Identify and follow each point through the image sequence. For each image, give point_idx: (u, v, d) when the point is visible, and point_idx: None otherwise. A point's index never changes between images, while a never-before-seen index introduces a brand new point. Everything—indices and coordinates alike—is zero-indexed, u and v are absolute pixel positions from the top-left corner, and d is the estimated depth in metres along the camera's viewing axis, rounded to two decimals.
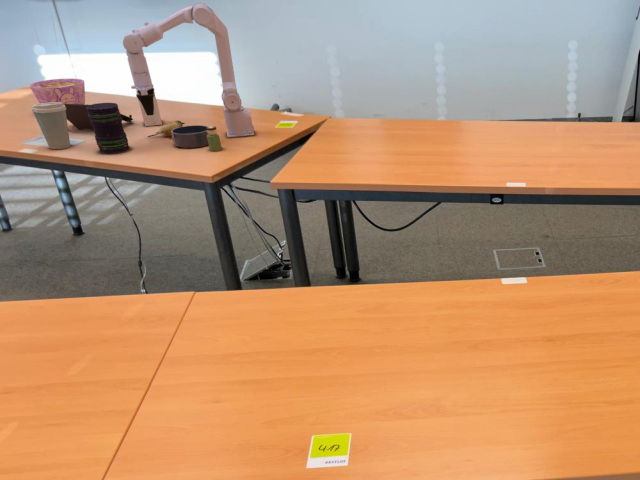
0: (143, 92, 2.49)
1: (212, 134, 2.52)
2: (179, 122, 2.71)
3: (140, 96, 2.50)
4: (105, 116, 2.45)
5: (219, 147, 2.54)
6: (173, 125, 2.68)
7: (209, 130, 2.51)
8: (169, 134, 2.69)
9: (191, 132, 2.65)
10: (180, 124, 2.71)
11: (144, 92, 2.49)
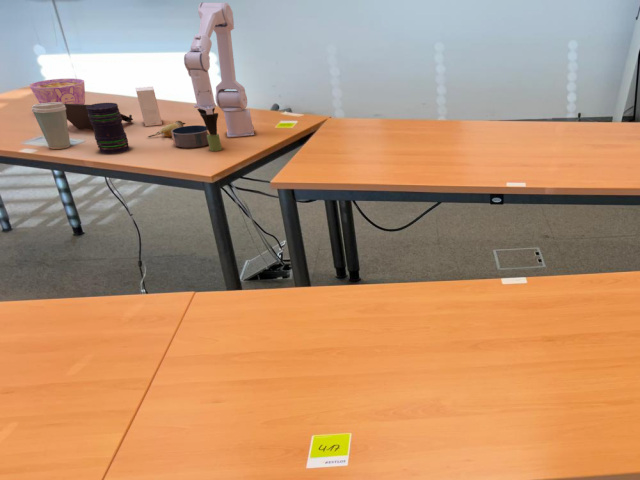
0: (209, 111, 2.42)
1: None
2: (180, 122, 2.71)
3: (205, 115, 2.44)
4: (105, 116, 2.45)
5: (219, 147, 2.54)
6: (173, 125, 2.68)
7: None
8: (169, 134, 2.68)
9: (191, 132, 2.65)
10: (181, 124, 2.71)
11: (210, 111, 2.42)
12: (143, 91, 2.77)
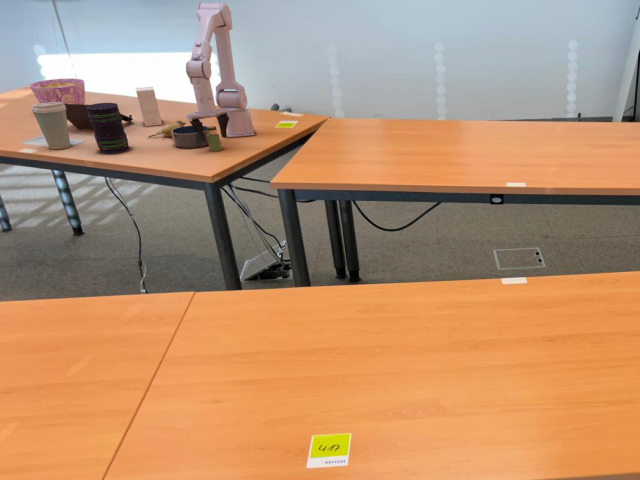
0: None
1: (212, 134, 2.52)
2: (180, 122, 2.71)
3: None
4: (105, 116, 2.45)
5: (219, 147, 2.54)
6: (174, 125, 2.68)
7: (209, 130, 2.51)
8: (169, 134, 2.68)
9: (191, 132, 2.65)
10: (181, 124, 2.71)
11: None
12: (143, 91, 2.77)
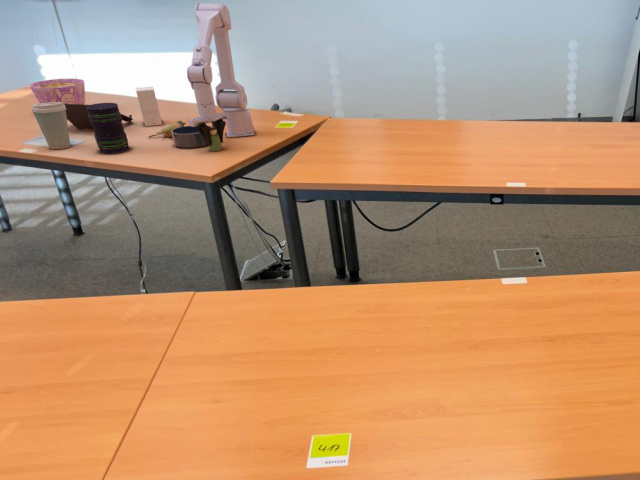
0: None
1: (212, 134, 2.52)
2: (180, 122, 2.71)
3: None
4: (105, 116, 2.45)
5: (219, 147, 2.54)
6: (174, 125, 2.68)
7: None
8: (170, 134, 2.68)
9: (191, 132, 2.65)
10: (181, 124, 2.71)
11: None
12: (143, 91, 2.77)
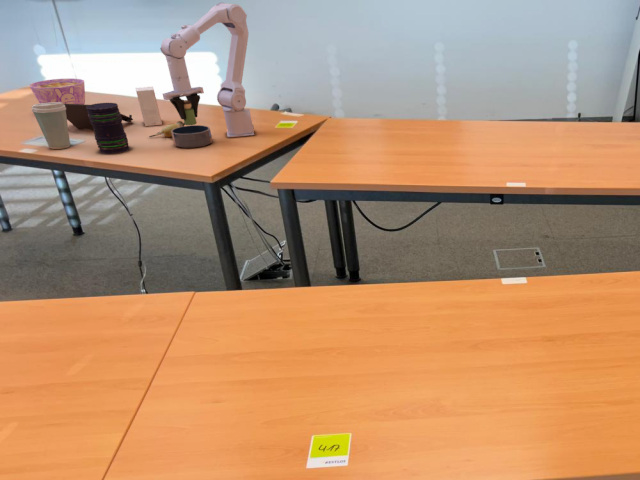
0: None
1: (186, 108, 2.54)
2: (181, 123, 2.70)
3: None
4: (105, 116, 2.45)
5: (194, 121, 2.56)
6: (174, 126, 2.68)
7: None
8: (170, 134, 2.68)
9: (191, 132, 2.65)
10: (182, 125, 2.71)
11: None
12: (143, 91, 2.77)
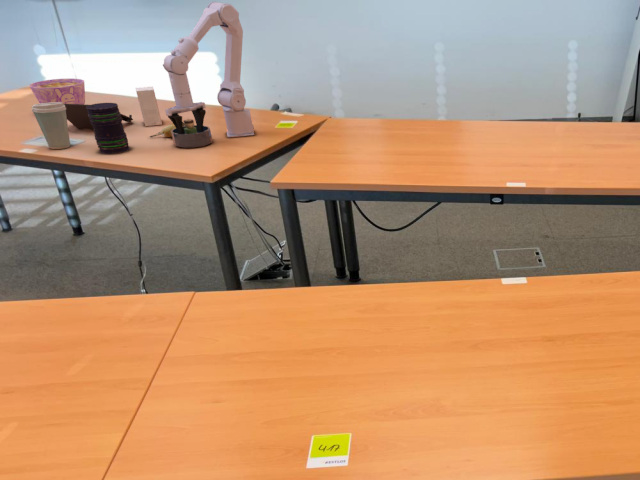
0: None
1: (189, 127, 2.58)
2: None
3: None
4: (105, 116, 2.45)
5: None
6: (174, 126, 2.68)
7: (186, 123, 2.57)
8: (170, 135, 2.68)
9: None
10: None
11: None
12: (143, 91, 2.77)
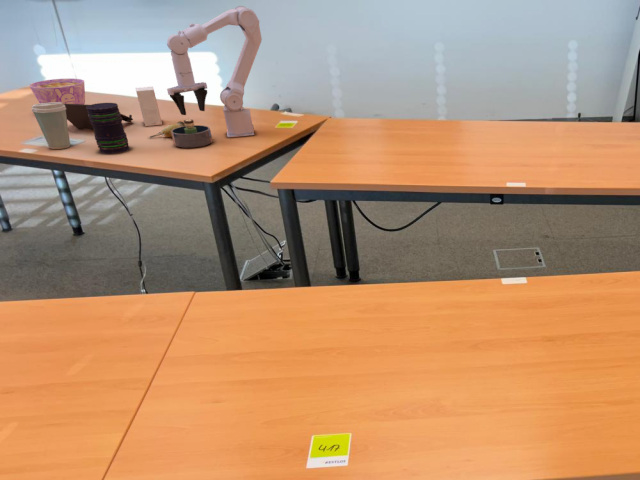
0: None
1: (189, 127, 2.58)
2: (181, 123, 2.70)
3: None
4: (105, 116, 2.45)
5: None
6: (175, 126, 2.67)
7: (186, 123, 2.57)
8: (170, 135, 2.68)
9: None
10: (182, 125, 2.70)
11: None
12: (143, 91, 2.77)
